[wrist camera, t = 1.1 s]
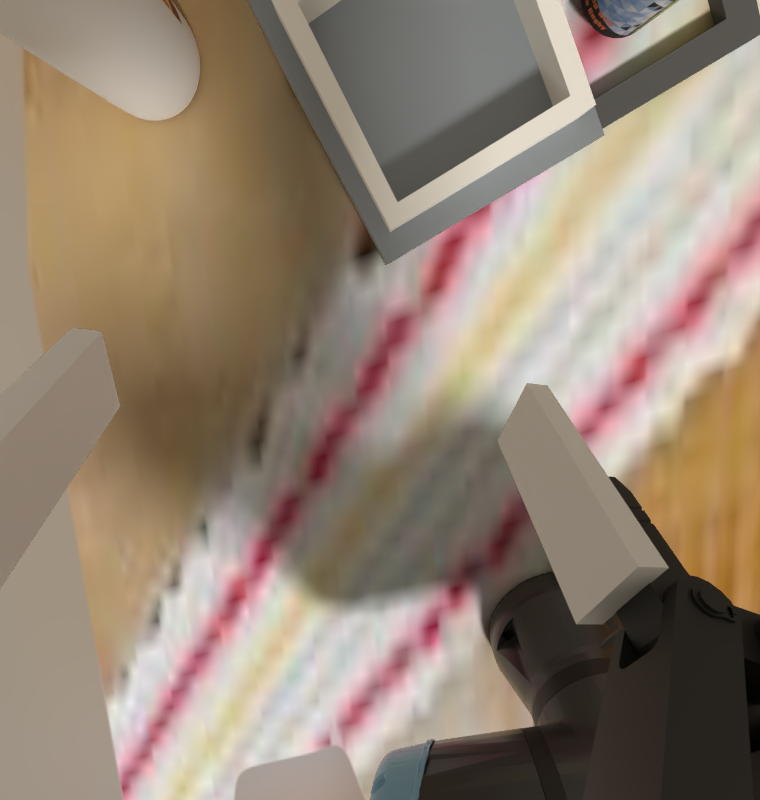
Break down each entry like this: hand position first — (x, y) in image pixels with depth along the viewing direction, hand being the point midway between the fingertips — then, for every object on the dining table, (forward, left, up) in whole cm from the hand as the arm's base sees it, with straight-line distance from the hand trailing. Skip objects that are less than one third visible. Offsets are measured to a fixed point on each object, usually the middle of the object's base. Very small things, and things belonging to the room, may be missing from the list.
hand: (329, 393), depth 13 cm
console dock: (+10, -11, -23) cm, 27 cm away
